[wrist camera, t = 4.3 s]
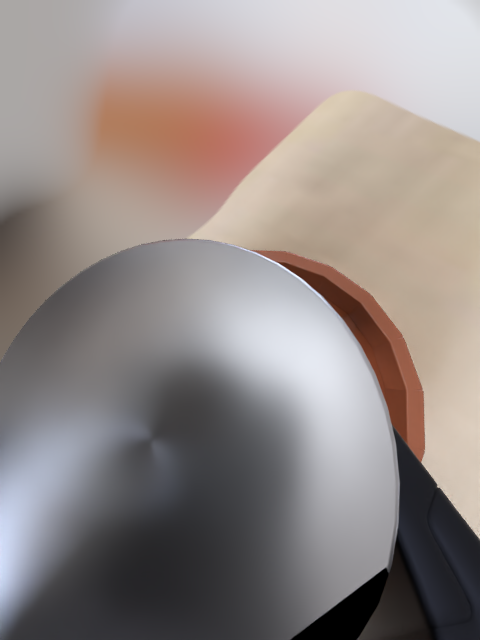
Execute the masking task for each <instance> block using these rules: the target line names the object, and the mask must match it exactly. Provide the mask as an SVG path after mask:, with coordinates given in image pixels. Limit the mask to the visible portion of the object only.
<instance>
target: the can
mask: <svg viewBox="0 0 480 640" xmlns="http://www.w3.org/2000/svg"><path fill="white" fill-rule="evenodd" d="M399 492H400V480H399V470H398V460H397V450H396V442H395V437H394V433H393V429H392V424H391V420H390V415H389V411H388V407H387V404H386V401H385V399H384V396H383V393H382V390H381V388H380V385H379V382H378V379H377V377H376V374H375V372H374V370H373V368H372V366H371V364H370V362H369V360H368V358H367V357H366V355H365V353H364V351H363V349H362V347H361V345H360V343H359V342H358V340H357V339H356V338H355V336H354V335H353V333H352V332H351V330H350V329H349V327H348V326H347V324H346V323H345V322H344V320H343V319H342V318H341V316H340V315H339V314H338V313H337V312H336V311H335V310H334V309H333V308H332V306H331V305H330V304H329V303H328V302H327V301H326V300H325V299H324V297H323V296H321V295H320V294H319V293H318V292H317V291H316V290H314V289H313V288H312V287H311V286H310V285H309V284H308V283H306V282H305V281H304V280H303V279H302V278H300V277H299V276H297V275H296V274H294V273H293V272H291V271H290V270H288V269H287V268H285V267H284V266H282V265H280V264H279V263H277V262H275V261H273V260H271V259H269V258H266V257H264V256H262V255H260V254H258V253H256V252H253V251H250V250H247V249H244V248H241V247H238V246H235V245H232V244H227V243H222V242H216V241H211V240H199V239H175V240H163V241H158V242H152V243H147V244H141V245H138V246H135V247H132V248H129V249H126V250H123V251H120V252H117V253H115V254H113V255H111V256H109V257H107V258H104V259H102V260H100V261H98V262H96V263H95V264H93V265H91V266H89V267H88V268H86V269H84V270H83V271H81V272H80V273H78V274H77V275H75V276H74V277H73V278H71V279H70V280H69V281H67V282H66V283H65V284H63V285H62V286H61V287H60V288H59V289H58V290H57V291H55V292H54V293H53V294H52V295H51V296H50V297H49V298H48V299H47V300H46V301H45V302H44V303H43V304H42V305H41V306H40V307H39V308H38V309H37V310H36V312H35V313H34V314H33V315H32V316H31V317H30V318H29V320H28V321H27V322H26V324H25V325H24V326H23V328H22V329H21V330H20V332H19V333H18V334H17V336H16V337H15V339H14V340H13V342H12V343H11V345H10V347H9V348H8V350H7V352H6V353H5V355H4V357H3V359H2V360H1V362H0V640H357V639H358V638H359V636H360V635H361V633H362V631H363V630H364V628H365V626H366V625H367V623H368V621H369V620H370V618H371V616H372V614H373V613H374V611H375V609H376V608H377V606H378V604H379V602H380V599H381V596H382V593H383V590H384V587H385V584H386V581H387V578H388V575H389V572H390V569H391V566H392V560H393V554H394V548H395V542H396V536H397V530H398V523H399Z"/></svg>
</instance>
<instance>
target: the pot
mask: <svg viewBox="0 0 480 640" xmlns="http://www.w3.org/2000/svg"><path fill="white" fill-rule="evenodd" d="M250 251H253V252H256V253H258V254H260V255H262V256H264V257H266V258H269V259H271V260H273V261H275V262H277V263H279V264H280V265H282V266H284V267H285V268H287V269H288V270H290V271H291V272H293V273H294V274H296V275H297V276H299V277H300V278H302V279H303V280H304V281H305V282H306V283H308V284H309V285H310V286H311V287H312V288H313V289H314V290H316V291H317V292H318V293H319V294H320V295H321V296H323V297H324V299H325V300H326V301H327V302H328V303H329V304H330V305H331V306H332V308H333V309H334V310H335V311H336V312H337V313H338V314H339V315H340V316H341V318H342V319H343V320H344V322H345V323H346V324H347V326H348V327H349V329H350V330H351V332H352V333H353V335H354V336H355V338H356V339H357V340H358V342H359V343H360V345H361V347H362V349H363V351H364V353H365V355H366V357H367V358H368V360H369V362H370V364H371V366H372V368H373V370H374V372H375V374H376V377H377V379H378V382H379V385H380V388H381V390H382V393H383V396H384V399H385V401H386V404H387V407H388V411H389V415H390V420H391V423H392V425H393V426H394V427H395V429H396V430H397V431H398V433H399V434H400V435H401V437H402V438H403V439H404V441H405V442H406V443H407V445H408V446H409V447H410V449H411V450H412V451H413V453H414V454H415V455H416V457H417V458H418V459H419V461H420V462H421V461H422V458H423V455H424V452H425V451H424V450H425V432H424V396H423V391H422V386H421V383H420V381H419V378H418V375H417V372H416V370H415V367H414V364H413V361H412V359H411V356H410V353H409V351H408V348H407V345H406V342H405V340H404V338H403V335H402V334H401V333H400V331H399V330H398V329H397V328H396V326H395V325H394V324H393V322H392V321H391V320H390V318H389V317H388V316H387V315H386V313H385V312H384V311H383V309H382V308H381V307H380V306H379V304H378V303H377V302H376V300H375V299H374V298H373V297H372V295H370V293H368V292H367V291H365V290H364V289H363V288H361V287H360V286H358V285H357V284H356V283H354V282H353V281H351V280H350V279H348V278H347V277H346V276H344V275H343V274H341V273H340V272H339V271H337V270H336V269H334V268H333V267H330V266H329V265H326V264H323V263H320V262H317V261H314V260H311V259H308V258H305V257H302V256H299V255H296V254H293V253H290V252H286V251H257V250H250Z"/></svg>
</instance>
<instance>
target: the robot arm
mask: <svg viewBox="0 0 480 640" xmlns="http://www.w3.org/2000/svg"><path fill="white" fill-rule="evenodd" d="M391 424H392V423H391ZM392 429H393V433H394V437H395V442H396V450H397V460H398V470H399V480H400V492H399V523H398V530H397V536H396V542H395V548H394V554H393V560H392V566H391V569H390V572H389V575H388V578H387V581H386V584H385V587H384V590H383V593H382V596H381V599H380V602H379V604H378V606H377V608H376V609H375V611H374V613H373V614H372V616H371V618H370V620H369V621H368V623H367V625H366V626H365V628H364V630H363V631H362V633H361V635H360V636H359V638H358V639H357V640H480V539H479V538H478V537H477V536H476V534H475V533H474V532H473V530H472V529H471V528H470V527H469V525H468V524H467V523H466V521H465V520H464V519H463V517H462V516H461V515H460V514H459V512H458V511H457V510H456V508H455V507H454V506H453V505H452V503H451V502H450V501H449V499H448V498H447V497H446V495H445V494H444V493H443V491H442V490H441V489H440V488H438V487H437V483H436V482H435V481H434V479H433V478H432V477H431V475H430V474H429V473H428V471H427V470H426V469H425V467H424V466H423V465H422V463H421V462H420V461H419V459H418V458H417V457H416V455H415V454H414V453H413V451H412V450H411V449H410V447H409V446H408V445H407V443H406V442H405V441H404V439H403V438H402V437H401V435H400V434H399V433H398V431H397V430H396V429H395V427H394V426H393V425H392Z"/></svg>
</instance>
